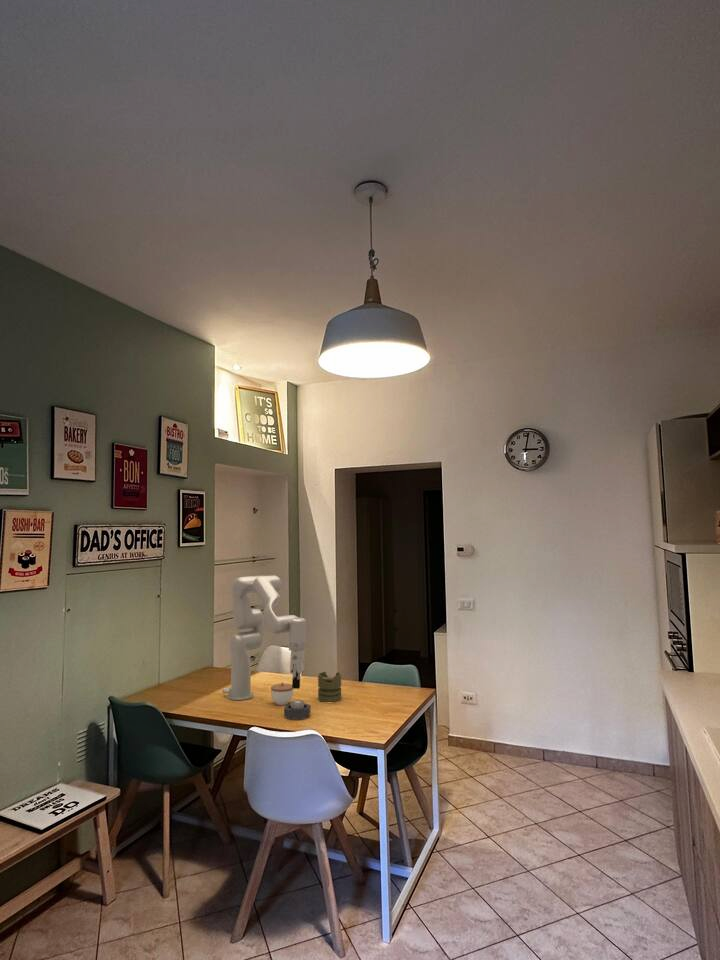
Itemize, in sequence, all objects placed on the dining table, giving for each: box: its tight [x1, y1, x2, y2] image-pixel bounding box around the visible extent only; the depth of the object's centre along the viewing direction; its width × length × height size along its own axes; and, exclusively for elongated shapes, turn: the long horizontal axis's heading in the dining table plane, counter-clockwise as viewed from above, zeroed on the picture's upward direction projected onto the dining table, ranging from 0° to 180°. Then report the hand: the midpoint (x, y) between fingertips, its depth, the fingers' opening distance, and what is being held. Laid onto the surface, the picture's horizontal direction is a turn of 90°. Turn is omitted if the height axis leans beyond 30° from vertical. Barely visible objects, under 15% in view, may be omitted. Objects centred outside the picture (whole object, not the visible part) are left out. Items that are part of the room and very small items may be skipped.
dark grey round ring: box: [283, 702, 312, 721], centre depth 243 cm, size 11×11×4 cm
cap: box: [290, 699, 305, 709], centre depth 243 cm, size 6×6×5 cm
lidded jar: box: [270, 682, 294, 706], centre depth 263 cm, size 11×11×9 cm
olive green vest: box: [317, 671, 342, 703], centre depth 268 cm, size 11×12×11 cm
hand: (296, 687), depth 245 cm, fingers closed
